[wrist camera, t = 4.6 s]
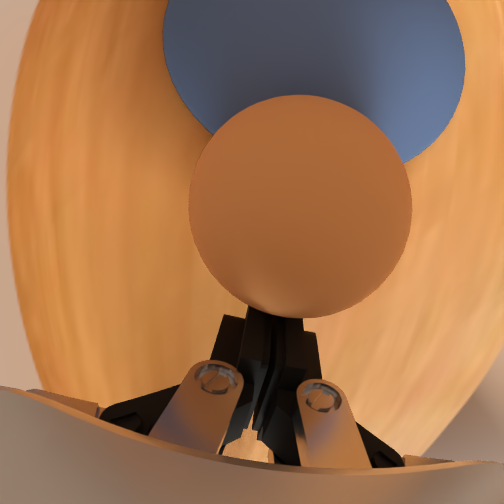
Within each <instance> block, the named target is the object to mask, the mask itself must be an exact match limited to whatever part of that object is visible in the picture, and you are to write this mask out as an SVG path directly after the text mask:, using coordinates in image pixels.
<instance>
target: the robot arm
mask: <svg viewBox="0 0 504 504" xmlns="http://www.w3.org/2000/svg"><path fill="white" fill-rule="evenodd" d="M253 411H254V415H253V424H252V430H256V431H258V434H257V440H260V441H262V442H263V443H264V444H265V445H266V446H267V447H268V448H269V450H268V462H269V463H265V462H258V461H251V460H245V459H239V458H234V457H228V456H223V453H224V451H225V448H226V445H227V444H228V443H230V442H232V441H234V440H236V439H238V438H240V437H241V434H242V431H243V428H244V429H247V428H248V425H249V422H250V419H251V417H252V414H253ZM0 504H504V464H503V463H499V462H494V461H481V460H477V461H458V462H454V461H452V460H443V459H433V458H426V457H418V456H411V455H404V456H403V457H401V456H400V455H399V454H398V453H397V452H396V451H395V450H394V449H392V448H391V447H390V446H388V445H387V444H385V443H384V442H383V441H381V440H380V439H378V438H377V437H376V436H374V435H373V434H372V433H370V432H369V431H368V430H366V429H365V428H364V427H362V426H361V425H360V424H358V423H357V422H356V421H355V419H354V417H353V414H352V411H351V409H350V406H349V403H348V401H347V398H346V396H345V394H344V393H343V391H342V390H341V389H340V388H339V387H338V386H336V385H335V384H333V383H331V382H328V381H326V380H322V374H321V367H320V360H319V352H318V345H317V339H316V334H315V333H314V332H308V331H304V328H303V318H287V317H281V316H276V315H272V314H269V313H266V312H263V311H260V310H257V309H255V308H253V307H251V306H249V305H248V309H247V313H246V318H245V319H244V318H239V317H234V316H230V315H226V314H224V316H223V319H222V322H221V325H220V329H219V332H218V335H217V338H216V342H215V345H214V348H213V351H212V354H211V358H210V360H206V361H201V362H199V363H197V364H195V365H194V366H193V367H192V368H191V369H190V370H189V372H188V374H187V375H186V377H185V378H184V380H183V382H182V383H181V384H179V385H176V386H173V387H170V388H167V389H164V390H161V391H158V392H154V393H151V394H148V395H145V396H141V397H138V398H135V399H131V400H128V401H124V402H120V403H117V404H114V405H112V406H109V407H108V408H102V407H99V405H98V403H94V402H89V401H84V400H80V399H75V398H71V397H67V396H63V395H59V394H55V393H51V392H47V391H43V390H38V389H31V390H27V391H23V390H20V389H15V388H9V387H4V386H0Z"/></svg>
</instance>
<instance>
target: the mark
mask: <svg viewBox="0 0 504 504" xmlns="http://www.w3.org/2000/svg"><path fill="white" fill-rule="evenodd" d="M163 49H164V54H165V60H166V65H167V68H168V71H169V74H170V76H171V79H172V82H173V84H174V86H175V88H176V90H177V92H178V93H179V95H180V97H181V99H182V101H183V102H184V103H185V105H186V106H187V107H188V109H189V110H190V111H191V113H192V114H193V116H194V117H195V118H196V119H197V120H198V121H199V122H200V123H201V124H202V125H203V126H204V127H205V128H206V129H207V130H208V131H209V132H210V133H212V134H213V135H214V134H215V133H216V132H217V130H218V129H220V128H221V127H222V126H223V125H224V124H225V123H226V122H227V121H228V120H229V119H231V118H232V117H233V116H234V115H236V114H237V113H239V112H241V111H242V110H244V109H246V108H248V107H249V106H251V105H254V104H256V103H258V102H261V101H264V100H268V99H271V98H274V97H279V96H288V95H312V96H319V97H323V98H327V99H331V100H334V101H337V102H340V103H342V104H344V105H347V106H349V107H351V108H353V109H355V110H356V111H358V112H360V113H361V114H363V115H364V116H366V117H367V118H368V119H370V120H371V121H372V122H373V123H374V124H375V125H376V126H377V127H378V128H379V129H380V130H381V131H382V132H383V133H384V134H385V135H386V136H387V138H388V139H389V140H390V141H391V143H392V144H393V146H394V147H395V149H396V151H397V153H398V155H399V157H400V158H401V160H402V162H403V164H404V163H405V162H407V161H409V160H410V159H412V158H414V157H415V156H417V155H419V154H420V153H421V152H422V151H424V150H425V149H426V148H427V147H428V146H430V145H431V144H432V143H433V142H434V141H435V140H436V139H437V138H438V136H439V135H440V134H441V133H442V132H443V131H444V129H445V128H446V126H447V125H448V123H449V121H450V120H451V118H452V117H453V115H454V112H455V110H456V108H457V105H458V103H459V101H460V97H461V93H462V89H463V85H464V76H465V54H464V47H463V42H462V37H461V33H460V30H459V27H458V24H457V21H456V19H455V16H454V14H453V12H452V10H451V8H450V6H449V4H448V2H447V1H446V0H169V2H168V6H167V9H166V12H165V18H164V25H163Z"/></svg>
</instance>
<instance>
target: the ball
mask: <svg viewBox="0 0 504 504" xmlns="http://www.w3.org/2000/svg"><path fill="white" fill-rule="evenodd" d="M189 218H190V225H191V231H192V234H193V238H194V241H195V244H196V246H197V248H198V251H199V253H200V255H201V257H202V259H203V261H204V263H205V265H206V266H207V268H208V269H209V271H210V272H211V273H212V275H213V276H214V277H215V278H216V279H217V280H218V282H219V283H220V284H221V285H222V286H223V287H224V288H225V289H227V290H228V291H229V292H230V293H231V294H232V295H233V296H235V297H236V298H238V299H239V300H241V301H242V302H244V303H245V304H247V305H249V306H251V307H253V308H255V309H257V310H260V311H263V312H266V313H269V314H272V315H276V316H281V317H287V318H317V317H322V316H327V315H331V314H334V313H337V312H340V311H342V310H345V309H347V308H350V307H352V306H354V305H355V304H357V303H359V302H361V301H362V300H364V299H365V298H366V297H368V296H369V295H370V294H371V293H373V292H374V291H375V290H376V289H378V288H379V286H380V285H381V284H382V283H383V282H384V281H385V280H386V278H387V277H388V276H389V275H390V274H391V272H392V271H393V269H394V268H395V266H396V264H397V263H398V261H399V259H400V257H401V255H402V253H403V251H404V248H405V245H406V242H407V239H408V236H409V232H410V226H411V218H412V198H411V189H410V184H409V180H408V176H407V173H406V170H405V167H404V165H403V162H402V160H401V158H400V157H399V155H398V153H397V151H396V149H395V147H394V146H393V144H392V143H391V141H390V140H389V139H388V138H387V136H386V135H385V134H384V133H383V132H382V131H381V130H380V129H379V128H378V127H377V126H376V125H375V124H374V123H373V122H372V121H371V120H370V119H368V118H367V117H366V116H364V115H363V114H361V113H360V112H358V111H356V110H355V109H353V108H351V107H349V106H347V105H344V104H342V103H340V102H337V101H334V100H331V99H327V98H323V97H319V96H312V95H288V96H279V97H274V98H271V99H268V100H264V101H261V102H258V103H256V104H254V105H251V106H249V107H248V108H246V109H244V110H242V111H241V112H239V113H237V114H236V115H234V116H233V117H232V118H231V119H229V120H228V121H227V122H226V123H225V124H224V125H223V126H222V127H221V128H220V129H218V130H217V132H216V133H215V134H214V136H213V137H212V138H211V140H210V141H209V142H208V144H207V145H206V146H205V148H204V150H203V152H202V154H201V156H200V158H199V160H198V162H197V164H196V166H195V170H194V174H193V177H192V181H191V185H190V193H189Z"/></svg>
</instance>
